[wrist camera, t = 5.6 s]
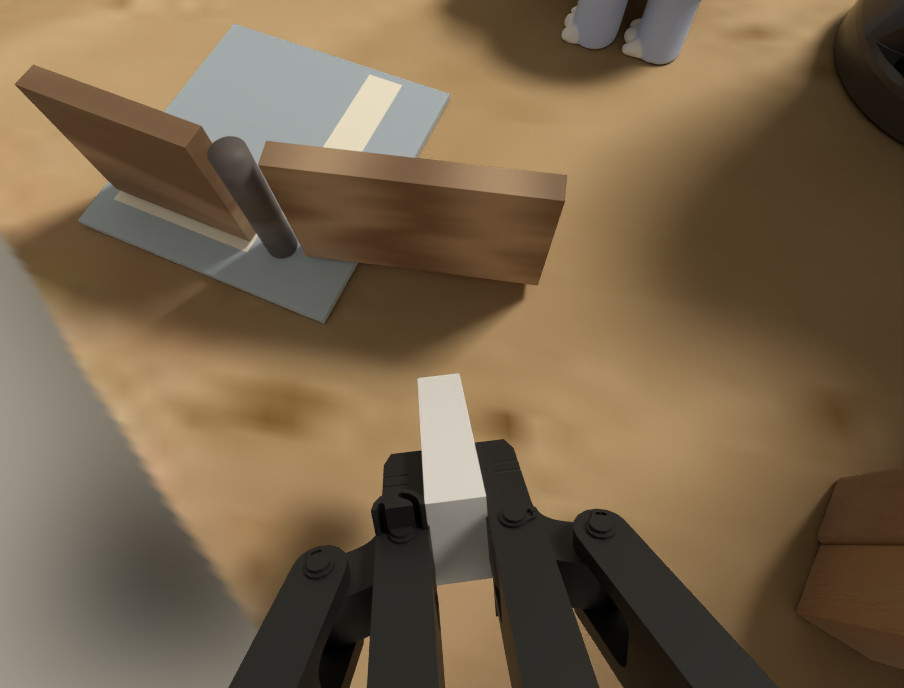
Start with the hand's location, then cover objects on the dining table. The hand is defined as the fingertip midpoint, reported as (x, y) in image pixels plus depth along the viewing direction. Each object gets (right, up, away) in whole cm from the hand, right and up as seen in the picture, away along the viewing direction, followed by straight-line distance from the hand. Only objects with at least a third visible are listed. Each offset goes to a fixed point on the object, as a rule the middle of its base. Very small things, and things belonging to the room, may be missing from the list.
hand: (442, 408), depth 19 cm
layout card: (-10, +13, +11) cm, 20 cm away
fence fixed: (-13, +9, +10) cm, 18 cm away
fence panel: (-1, +7, +8) cm, 10 cm away
